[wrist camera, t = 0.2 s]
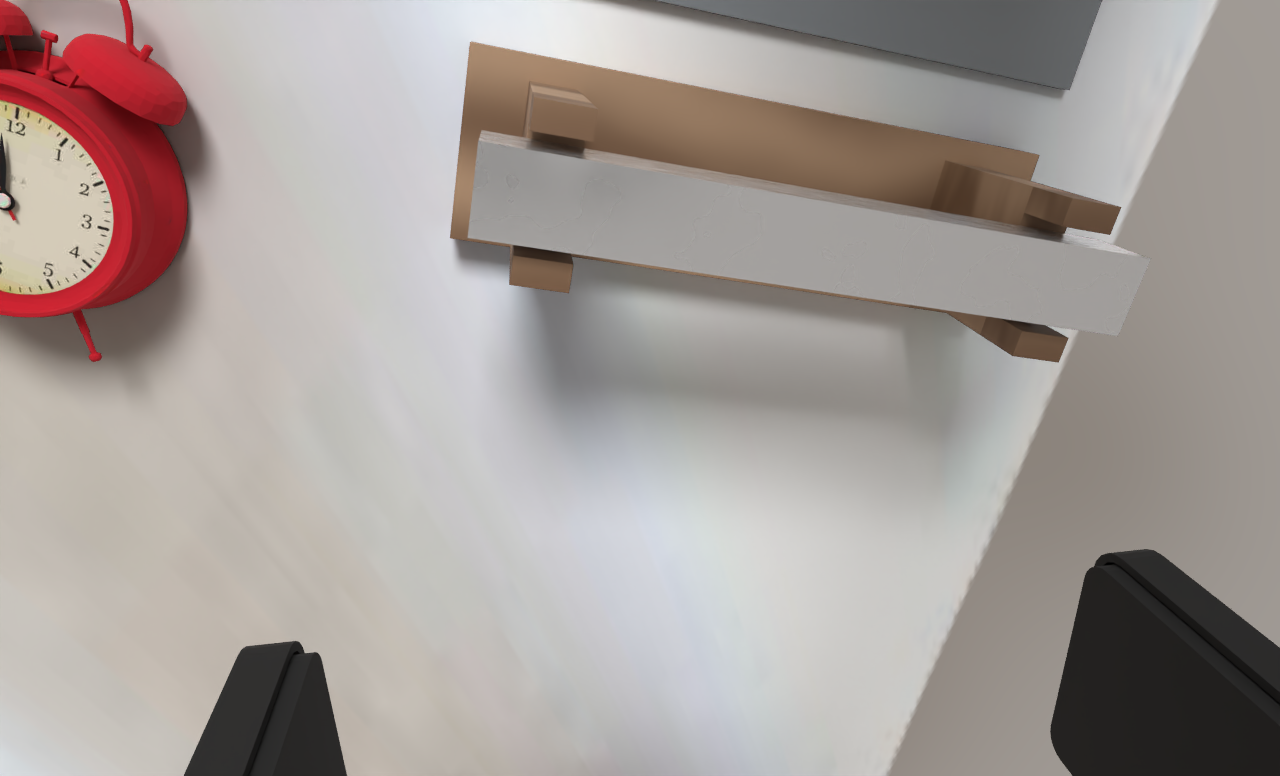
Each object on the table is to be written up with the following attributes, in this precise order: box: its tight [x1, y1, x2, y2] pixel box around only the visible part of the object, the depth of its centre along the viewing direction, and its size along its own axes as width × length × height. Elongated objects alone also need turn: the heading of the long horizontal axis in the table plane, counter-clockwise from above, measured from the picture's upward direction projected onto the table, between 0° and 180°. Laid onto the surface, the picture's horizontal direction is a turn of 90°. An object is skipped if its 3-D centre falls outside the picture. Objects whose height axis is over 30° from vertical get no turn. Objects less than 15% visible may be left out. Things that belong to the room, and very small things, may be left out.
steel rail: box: [468, 130, 1151, 336], centre depth 29 cm, size 3×24×3 cm, turn 79°
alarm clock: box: [0, 0, 187, 362], centre depth 32 cm, size 10×6×15 cm
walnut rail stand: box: [450, 42, 1121, 362], centre depth 33 cm, size 8×26×11 cm, turn 79°
